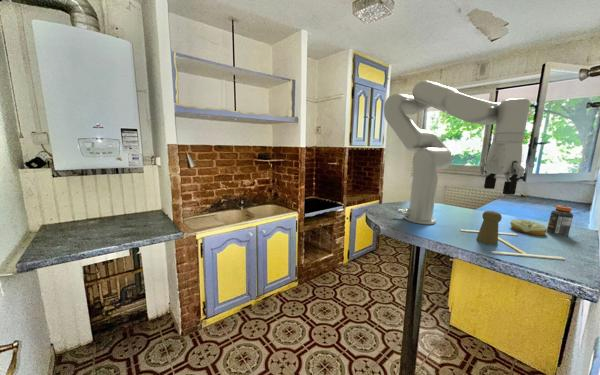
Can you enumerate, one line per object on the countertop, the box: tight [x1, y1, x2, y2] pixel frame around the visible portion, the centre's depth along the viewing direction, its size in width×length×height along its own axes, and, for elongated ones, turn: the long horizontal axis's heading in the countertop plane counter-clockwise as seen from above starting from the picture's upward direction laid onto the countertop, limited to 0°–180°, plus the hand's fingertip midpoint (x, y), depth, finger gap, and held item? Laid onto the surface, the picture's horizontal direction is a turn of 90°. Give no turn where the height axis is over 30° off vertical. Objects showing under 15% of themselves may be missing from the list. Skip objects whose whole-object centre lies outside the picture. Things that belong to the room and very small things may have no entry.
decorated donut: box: [510, 219, 548, 237], centre depth 97 cm, size 10×11×4 cm
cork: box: [476, 210, 503, 246], centre depth 84 cm, size 6×6×11 cm
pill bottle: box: [546, 204, 574, 237], centre depth 94 cm, size 6×6×11 cm
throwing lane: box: [459, 228, 566, 261], centre depth 84 cm, size 20×20×1 cm
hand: (498, 191), depth 81 cm, fingers open, 9 cm apart
